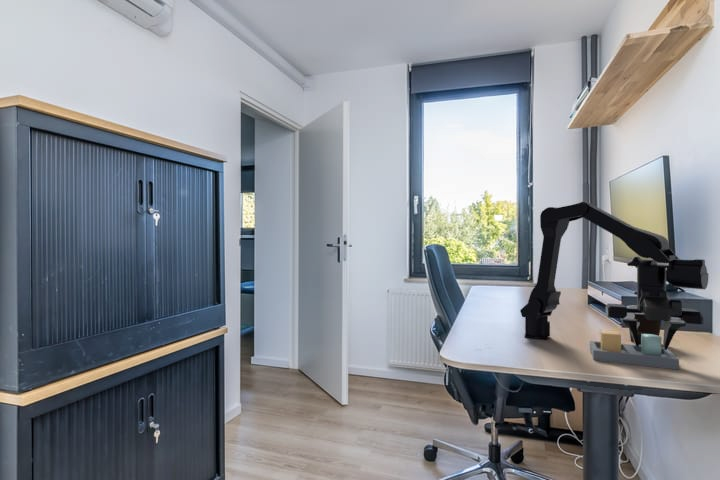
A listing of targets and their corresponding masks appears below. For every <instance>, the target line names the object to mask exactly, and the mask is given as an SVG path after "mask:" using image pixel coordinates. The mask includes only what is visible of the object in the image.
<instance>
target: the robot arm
mask: <svg viewBox="0 0 720 480" xmlns="http://www.w3.org/2000/svg"><path fill="white" fill-rule="evenodd" d="M539 218H540V220H539V223H540V231H541V233H542V238H543V239H542V245H541V246H542V247H541V252H540V253H541V254H540V259H539V260H540V261H539V267H538V275H537V280H536V284H535V285H534V287H533V289H532V290H531V292H530V295H529V298H528V301H527V303H526V304H525V305H524V306H523V307H522V308H521V309H520V311H519V312H520V314H521V317H522V318H524V319H525V321H524V322H525V323H524V325H525V326H524V331H525V332H524V338H531V339H538V340H539V339H540V340H541V339H542V340H548V339H549V337H551V324H550V323H551V322H550V321H549V320H548V319H549V318H548V317H551V316H552V314H553V312H554V310H556V308H557V307H558V306H559V305H561V304H560V296H561V293H562V291H559V290H557V289H556V287H555V281H556V274H557V268H558V261H559V256H560V247H561V242H562V238H563V236H564V235H565V233H566V231H567V230H568V228H569V224H570V222H573V221H577V220H580V219H583V218H584V219H585V220H587V221H589V222H591V223H592V224H593V225H596V226H597V227H599V228H601V229H602V230H604V231H606V232H608V233H609V234H612V235H613V236H615V237H617V238H619V239H620V240H621V241H622V242H623V243H625V245H626V246H627V247H628V248H629V249H630V250H631V251H633V252H634V253H635V254H636V255H637V256H634V258H632V259H631V260H630V261H629V262H627V263H626V265H627V266H628V267H636V271H637V273H636V284H637V285H636V305H637V309H636V308H626V305H624V304H622V303H621V304H620V303H607V304H606V305H605V315H606V316H607V318H612V319H619V320H621V322H622V323H624V322H626V324H627V325H628V326H627V325H626V324H625V325H626V326H627V327H628V329H630V331H629V333H630V332H631V334H632V337H633V340H634V342H635V343H634V345H636V347H639V345H640V344H639V340H638V332H637V321H636V320H635V319H634V317H635V316H644V317H645V318H646V319H648V320H661V321H664V328H663V342H662V343H663V344H662V345H663V348H664V349H665V350H667V349H668V348H669V346H670V344H671V342H672V339H673V338H674V336H675V334H676V332H677V331H678V330H679V329H680V328H681V327H687V324H689V325H690V324H691V325H704V316H703V313H702V312H700V311H699V310H696V309H695V308H689V307H688V308H687V307H686V308H685V307H683V302H682V300H681V299H670V300H669V299H668V297H667V296H668V294H667V283H668V284H671V285H672V287H674V288H681V289H683V288H684V289H694V290H695V289H696V290H706V289H707V287H708V284H709V273H708V269H707V266H706V260H705V259H698V258H697V259H680V258H679V257H678V255H677V254H676V253H675V252H674V251H673V250H672V249H671V248H670V244H669V240H668V239H667V238H666V237H665V236H664V235H661V234H658V233H655V232H652V231H649V230H645V229H644V228H643V229H642V228H638V227H635V226H633V225H632V224H629V223H627V222H626V221H623V220H622V219H620V218H618V217H616V216H614V215H613V214H611V213H609V212H608V211H605V210H603V209H601V208H599V207H597V206H595V204H593V203H592V202H588V201H580V202H578V203H574V204H570V205H564V206H558V207H553V206H551V207H550V206H548V207H546V208H545V209H544V210H542V211H541V212H540V215H539ZM642 258H643V259H642ZM644 258H645V259H644Z"/></svg>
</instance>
